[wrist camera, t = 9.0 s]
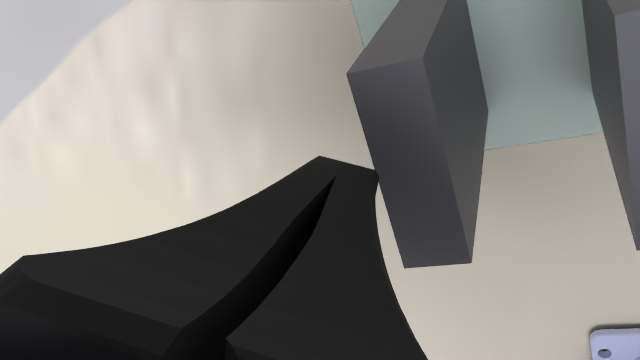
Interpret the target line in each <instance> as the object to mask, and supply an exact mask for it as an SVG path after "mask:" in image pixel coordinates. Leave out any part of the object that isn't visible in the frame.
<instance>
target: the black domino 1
mask: <svg viewBox="0 0 640 360" xmlns="http://www.w3.org/2000/svg"><path fill="white" fill-rule="evenodd" d="M347 77H348V81H349V84H350V87H351V91H352V94H353V97H354V101H355V104H356V108H357V111H358V114H359V118H360V121H361V124H362V128H363V131H364V134H365V138H366V141H367V145H368V148H369V151H370V155H371V158H372V161H373V165H374V168H375V170H376V172H377V173H378V175H379V176H380V177H379V185H380V188H381V192H382V195H383V198H384V202H385V205H386V208H387V212H388V215H389V218H390V222H391V225H392V229H393V232H394V235H395V239H396V242H397V245H398V249H399V252H400V255H401V259H402V262H403V266H404V268H414V267H427V266H440V265H453V264H467V263H472V254H473V245H474V237H475V228H476V219H477V210H478V201H479V192H480V183H481V174H482V165H483V156H484V147H485V138H486V129H487V121H488V112H489V111H488V106H487V101H486V96H485V91H484V86H483V81H482V76H481V71H480V66H479V61H478V56H477V50H476V45H475V40H474V35H473V30H472V25H471V20H470V15H469V10H468V5H467V0H399V2H398V3H397V5H396V6H395V7H394V9H393V10H392V12H391V13H390V14H389V16H388V17H387V18H386V20H385V21H384V23H383V24H382V25H381V27H380V28H379V29H378V31H377V32H376V34H375V35H374V36H373V38H372V39H371V40H370V42H369V43H368V45H367V46H366V47H365V49H364V50H363V52H362V53H361V54H360V56H359V57H358V58H357V60H356V61H355V63H354V64H353V65H352V67H351V68H350V69H349V71H348V72H347Z"/></svg>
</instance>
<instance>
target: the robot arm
mask: <svg viewBox="0 0 640 360" xmlns="http://www.w3.org/2000/svg"><path fill="white" fill-rule="evenodd" d="M379 177H380V176H379V175H378V173H377V172H376V170H372V169H369V168H365V167H361V166H357V165H353V164H349V163H345V162H342V161H338V160H334V159H330V158H326V157H322V156H318V157H316V158H315V159H313V160H311V161H310V162H308V163H306V164H305V165H303V166H302V167H300V168H298V169H297V170H295V171H294V172H292V173H291V174H289V175H287V176H286V177H284V178H283V179H281V180H279V181H278V182H276V183H274V184H273V185H271V186H269V187H267V188H266V189H264V190H262V191H261V192H259V193H257V194H255V195H253V196H251V197H249V198H247V199H245V200H243V201H242V202H240V203H238V204H236V205H234V206H232V207H230V208H227V209H225V210H223V211H221V212H218V213H216V214H213V215H211V216H208V217H206V218H203V219H201V220H198V221H195V222H193V223H190V224H187V225H184V226H181V227H177V228H174V229H170V230H167V231H163V232H160V233H157V234H153V235H150V236H146V237H142V238H138V239H134V240H129V241H125V242H120V243H115V244H110V245H104V246H99V247H93V248H87V249H80V250H72V251H63V252H55V253H46V254H37V255H26V256H22V257H21V258H20V259H19V260H17V261H16V262H15V263H14V264H12V265H11V266H10V267H9V268H7V269H6V270H5V271H4V272H3V273H1V274H0V360H428V359H427V357H426V355H425V354H424V352H423V350H422V349H421V347H420V345H419V343H418V342H417V340H416V338H415V336H414V334H413V332H412V330H411V328H410V326H409V324H408V322H407V320H406V318H405V316H404V314H403V312H402V310H401V308H400V305H399V303H398V300H397V298H396V295H395V293H394V290H393V288H392V285H391V282H390V279H389V276H388V273H387V269H386V266H385V262H384V258H383V254H382V250H381V245H380V240H379V235H378V228H377V219H376V208H375V195H376V191H377V186H378V182H379ZM590 346H591V353H592V360H640V328H632V329H601V330H596V331H594V332H592V333H591V335H590ZM601 349H608V351H600V350H601Z"/></svg>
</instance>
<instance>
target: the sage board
mask: <svg viewBox="0 0 640 360" xmlns="http://www.w3.org/2000/svg"><path fill="white" fill-rule="evenodd" d="M351 2H352V6H353V10H354V13H355V17H356V20H357V24H358V28H359V31H360V35H361V38H362V42H363V45H364V49H365V47H366V46H367V45H368V43H369V42H370V40H371V39H372V38H373V36H374V35H375V34H376V32H377V31H378V29H379V28H380V27H381V25H382V24H383V23H384V21H385V20H386V18H387V17H388V16H389V14H390V13H391V12H392V10H393V9H394V7H395V6H396V5H397V3H398V2H399V0H351ZM467 5H468V10H469V15H470V20H471V25H472V30H473V35H474V40H475V45H476V50H477V56H478V61H479V66H480V71H481V76H482V81H483V86H484V91H485V96H486V101H487V106H488V111H489V112H488V121H487V129H486V138H485V147H484V150H489V149H495V148H502V147H509V146H516V145H522V144H529V143H536V142H542V141H549V140H556V139H563V138H569V137H576V136H583V135H590V134H596V133H603V129H602V125H601V122H600V118H599V114H598V111H597V107H596V104H595V100H594V97H593V93H592V85H591V76H590V68H589V59H588V51H587V42H586V34H585V25H584V17H583V8H582V0H467Z"/></svg>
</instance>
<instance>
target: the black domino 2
mask: <svg viewBox="0 0 640 360" xmlns="http://www.w3.org/2000/svg"><path fill="white" fill-rule="evenodd" d="M582 8H583V17H584V25H585V34H586V42H587V51H588V59H589V68H590V76H591V85H592V93H593V97H594V100H595V104H596V107H597V111H598V114H599V118H600V122H601V125H602V129H603V132H604V136H605V139H606V143H607V146H608V150H609V153H610V157H611V160H612V164H613V168H614V171H615V175H616V178H617V182H618V185H619V189H620V192H621V196H622V199H623V203H624V206H625V210H626V214H627V217H628V221H629V224H630V228H631V231H632V235H633V238H634V242H635V245H636V249H637V250H640V0H582Z"/></svg>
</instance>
